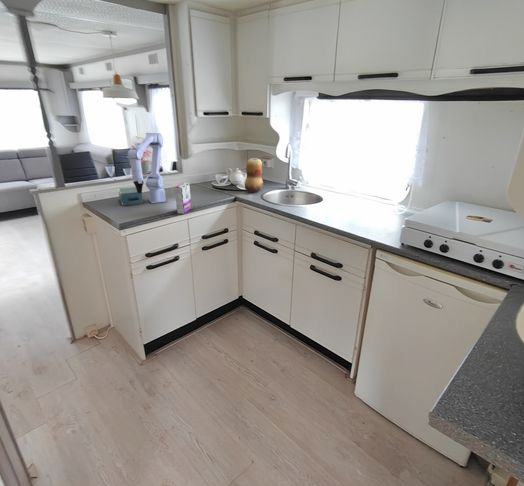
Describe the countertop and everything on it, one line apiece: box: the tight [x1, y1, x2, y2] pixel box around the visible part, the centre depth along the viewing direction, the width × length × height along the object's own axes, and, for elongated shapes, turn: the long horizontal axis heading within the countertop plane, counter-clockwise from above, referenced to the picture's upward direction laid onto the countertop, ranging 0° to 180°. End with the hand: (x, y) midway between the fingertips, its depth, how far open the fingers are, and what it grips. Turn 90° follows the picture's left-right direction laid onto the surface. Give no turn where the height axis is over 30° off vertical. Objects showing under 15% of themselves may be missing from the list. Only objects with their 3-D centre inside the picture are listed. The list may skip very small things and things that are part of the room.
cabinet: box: [117, 186, 144, 207], centre depth 214 cm, size 15×13×8 cm
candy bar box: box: [174, 182, 193, 215], centre depth 195 cm, size 11×5×16 cm, turn 168°
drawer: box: [122, 193, 144, 206], centre depth 211 cm, size 18×11×6 cm, turn 30°
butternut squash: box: [244, 157, 264, 194], centre depth 239 cm, size 14×13×25 cm
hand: (139, 192), depth 197 cm, fingers closed
